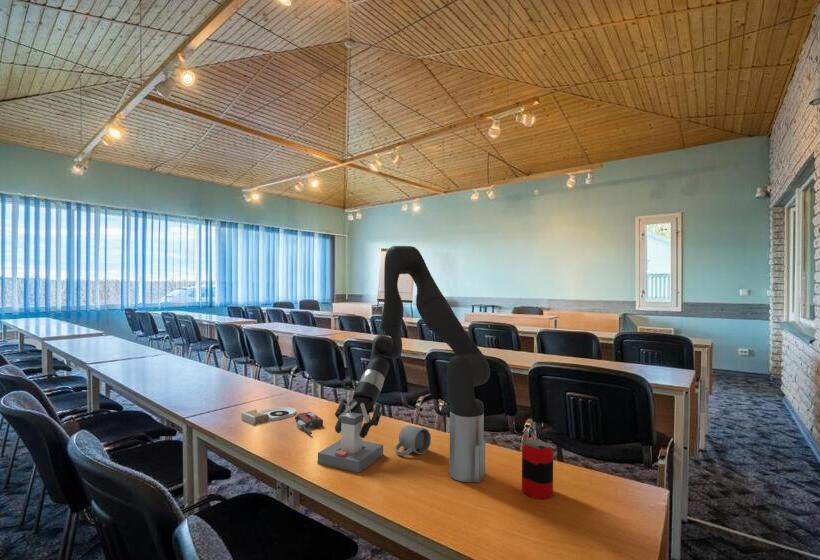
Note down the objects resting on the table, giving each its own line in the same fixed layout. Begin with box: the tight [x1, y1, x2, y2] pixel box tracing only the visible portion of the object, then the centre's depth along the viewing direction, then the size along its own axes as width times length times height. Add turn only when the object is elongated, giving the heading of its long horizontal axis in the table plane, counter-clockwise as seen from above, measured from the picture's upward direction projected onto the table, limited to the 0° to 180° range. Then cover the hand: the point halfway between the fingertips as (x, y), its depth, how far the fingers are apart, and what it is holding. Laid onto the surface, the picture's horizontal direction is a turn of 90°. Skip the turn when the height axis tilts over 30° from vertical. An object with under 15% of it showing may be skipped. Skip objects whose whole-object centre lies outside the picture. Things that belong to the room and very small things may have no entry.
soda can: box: [521, 439, 554, 500], centre depth 105 cm, size 8×8×12 cm
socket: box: [317, 439, 384, 474], centre depth 123 cm, size 14×14×4 cm
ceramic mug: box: [394, 424, 432, 457], centre depth 130 cm, size 11×8×8 cm
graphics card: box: [240, 406, 297, 426], centre depth 163 cm, size 12×3×20 cm
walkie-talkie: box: [294, 411, 324, 435], centre depth 151 cm, size 9×4×20 cm
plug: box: [340, 411, 364, 454], centre depth 123 cm, size 5×5×13 cm
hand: (349, 434), depth 122 cm, fingers open, 8 cm apart
